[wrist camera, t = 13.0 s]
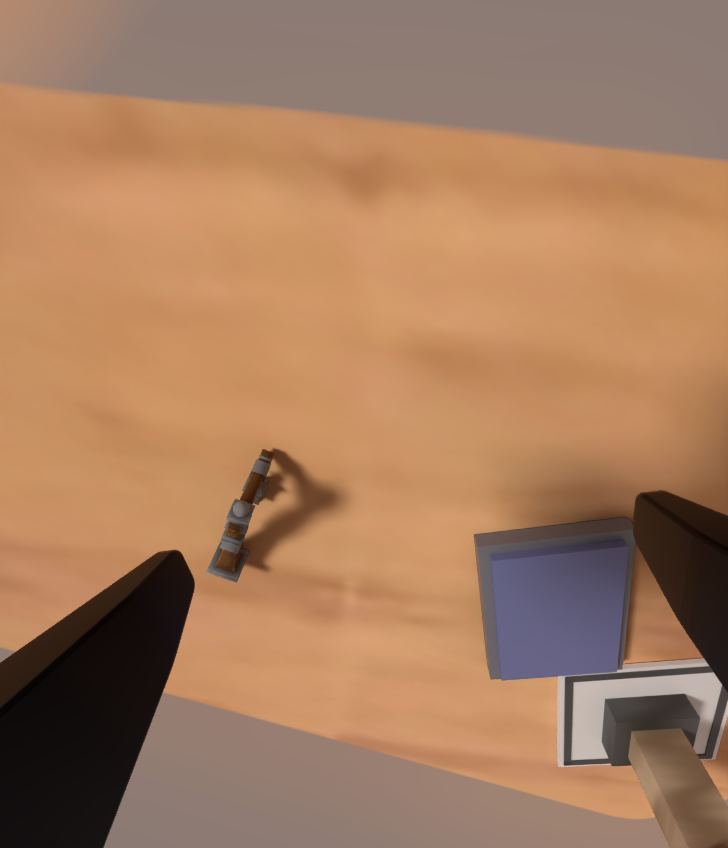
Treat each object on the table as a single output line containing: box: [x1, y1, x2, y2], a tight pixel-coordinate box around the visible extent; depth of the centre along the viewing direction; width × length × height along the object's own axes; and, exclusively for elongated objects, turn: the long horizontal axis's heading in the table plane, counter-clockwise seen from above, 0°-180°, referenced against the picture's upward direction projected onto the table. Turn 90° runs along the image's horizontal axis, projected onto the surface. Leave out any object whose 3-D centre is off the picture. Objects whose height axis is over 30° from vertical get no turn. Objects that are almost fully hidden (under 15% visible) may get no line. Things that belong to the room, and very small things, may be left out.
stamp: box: [602, 694, 728, 848], centre depth 24 cm, size 5×5×9 cm
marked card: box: [557, 658, 728, 767], centre depth 29 cm, size 11×11×1 cm
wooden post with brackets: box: [206, 449, 274, 582], centre depth 22 cm, size 2×8×4 cm, turn 157°
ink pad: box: [474, 517, 635, 680], centre depth 24 cm, size 8×11×2 cm
